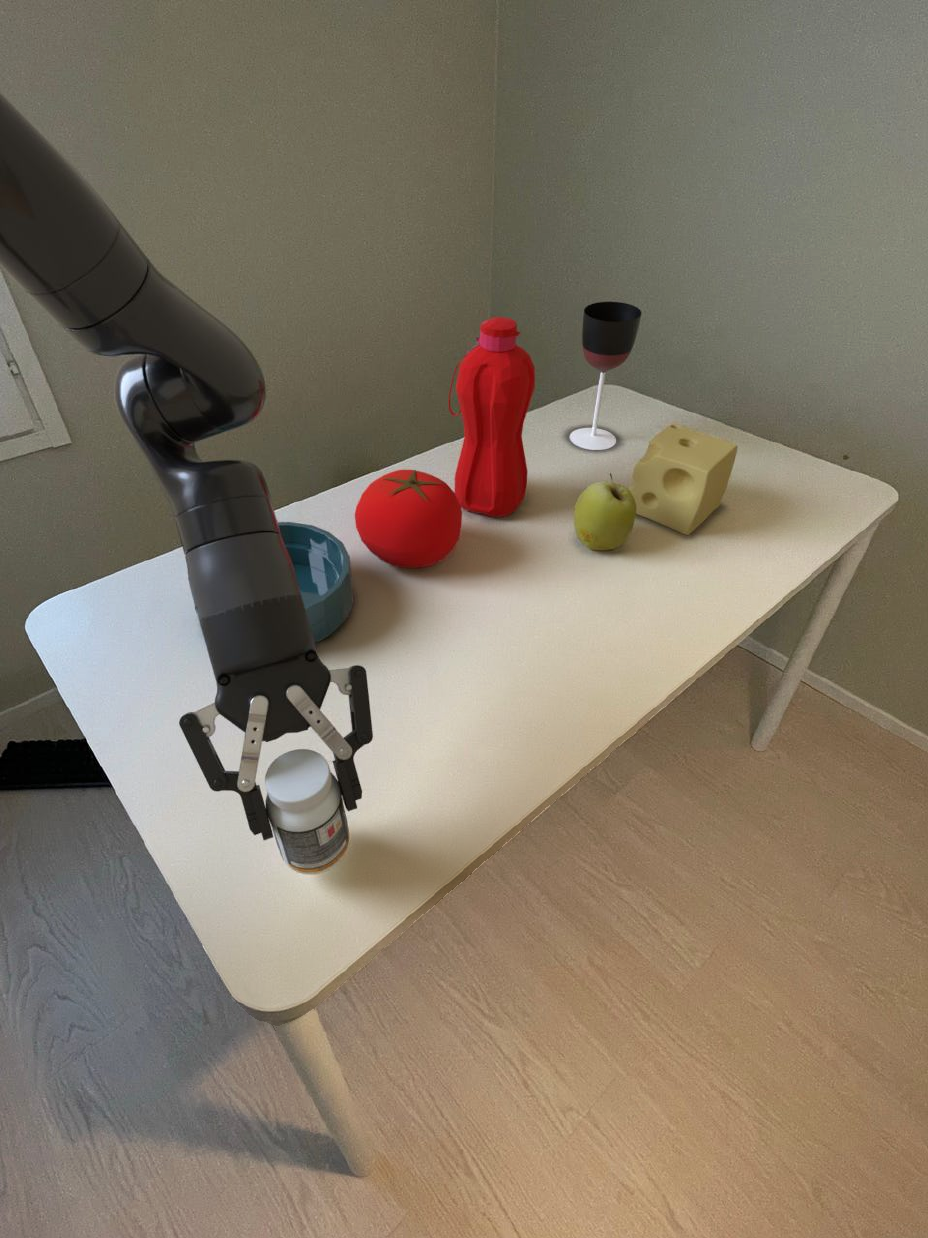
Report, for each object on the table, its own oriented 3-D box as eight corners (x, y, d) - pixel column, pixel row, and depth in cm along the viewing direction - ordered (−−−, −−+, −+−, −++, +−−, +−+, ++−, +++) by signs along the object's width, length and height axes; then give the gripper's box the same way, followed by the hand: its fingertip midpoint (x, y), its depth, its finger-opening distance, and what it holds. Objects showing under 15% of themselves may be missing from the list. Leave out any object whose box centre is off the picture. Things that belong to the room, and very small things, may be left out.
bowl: (214, 678, 74) (201, 636, 70) (191, 581, 86) (179, 540, 82) (373, 634, 79) (369, 594, 75) (331, 549, 91) (326, 509, 87)
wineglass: (557, 440, 114) (572, 312, 100) (586, 421, 119) (605, 297, 105) (599, 456, 110) (621, 326, 97) (627, 436, 115) (652, 310, 102)
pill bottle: (364, 835, 58) (353, 764, 52) (318, 891, 55) (300, 822, 48) (312, 803, 61) (295, 730, 54) (264, 854, 57) (240, 784, 50)
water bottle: (460, 476, 105) (463, 301, 88) (530, 491, 102) (547, 313, 85) (436, 507, 99) (434, 325, 82) (510, 525, 96) (524, 340, 79)
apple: (551, 536, 92) (576, 464, 87) (587, 530, 98) (613, 462, 93) (597, 565, 88) (626, 491, 83) (632, 557, 93) (662, 487, 88)
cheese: (622, 510, 99) (635, 446, 92) (659, 480, 105) (673, 418, 98) (690, 539, 94) (709, 473, 87) (724, 506, 100) (744, 442, 94)
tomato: (436, 594, 85) (435, 517, 77) (343, 564, 89) (334, 489, 81) (476, 542, 93) (479, 467, 85) (389, 517, 97) (385, 444, 89)
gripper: (140, 625, 47) (209, 871, 47) (350, 574, 51) (413, 798, 51) (154, 632, 54) (214, 845, 54) (337, 586, 58) (392, 783, 58)
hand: (310, 821), depth 52 cm, fingers closed on pill bottle, 5 cm apart
